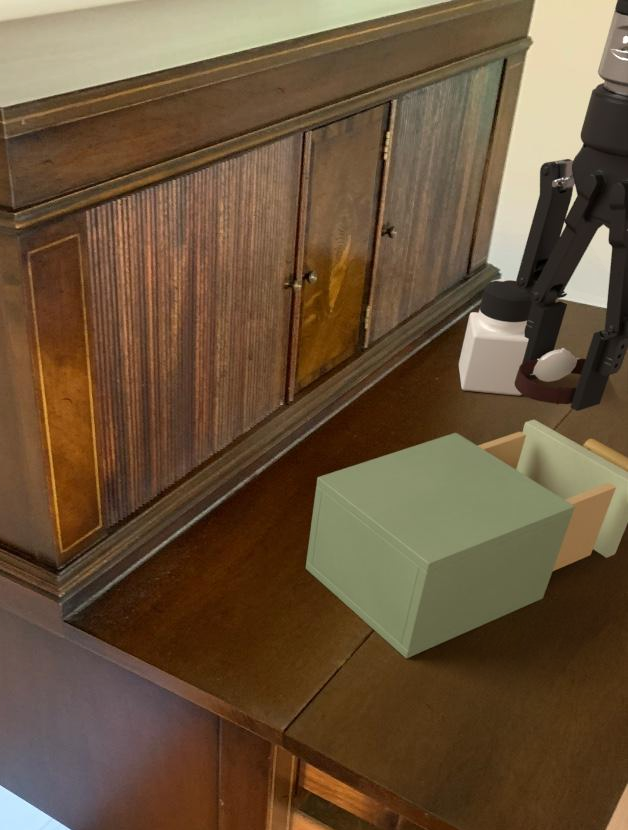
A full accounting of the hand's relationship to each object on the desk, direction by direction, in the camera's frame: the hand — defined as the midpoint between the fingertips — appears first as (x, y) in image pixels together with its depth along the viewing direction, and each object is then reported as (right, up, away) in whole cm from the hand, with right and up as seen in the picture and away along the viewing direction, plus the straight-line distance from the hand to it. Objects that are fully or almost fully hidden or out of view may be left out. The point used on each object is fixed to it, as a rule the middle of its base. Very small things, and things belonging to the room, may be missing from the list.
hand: (558, 390), depth 79 cm
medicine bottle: (+6, +9, +34) cm, 36 cm away
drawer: (+1, -12, +8) cm, 14 cm away
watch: (0, 0, 0) cm, 0 cm away
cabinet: (-11, -17, +3) cm, 20 cm away
